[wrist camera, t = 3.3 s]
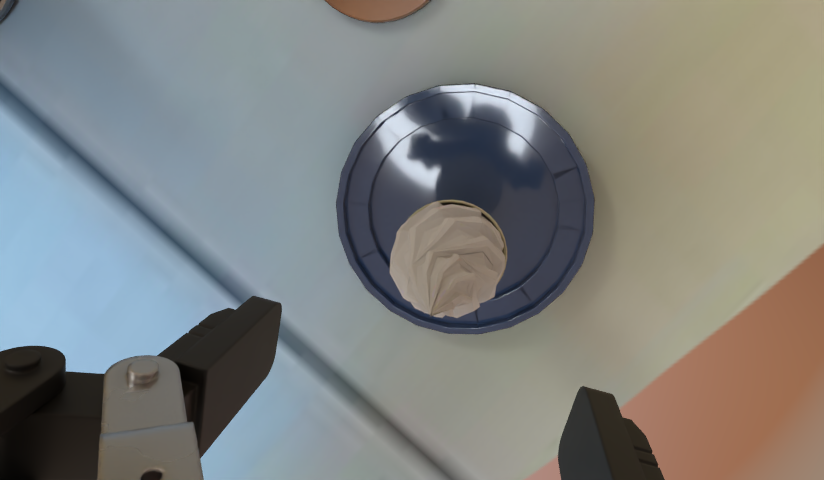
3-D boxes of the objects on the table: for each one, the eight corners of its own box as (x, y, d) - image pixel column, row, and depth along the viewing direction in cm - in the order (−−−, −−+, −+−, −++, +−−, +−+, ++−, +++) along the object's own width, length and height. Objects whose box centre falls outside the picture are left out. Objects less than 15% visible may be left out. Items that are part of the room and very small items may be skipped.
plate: (299, 213, 33) (288, 219, 31) (457, 27, 28) (455, 23, 27) (465, 363, 34) (464, 378, 32) (643, 208, 30) (652, 215, 28)
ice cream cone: (480, 156, 30) (466, 216, 15) (518, 231, 30) (539, 354, 16) (405, 195, 31) (329, 283, 17) (444, 266, 32) (403, 408, 18)
